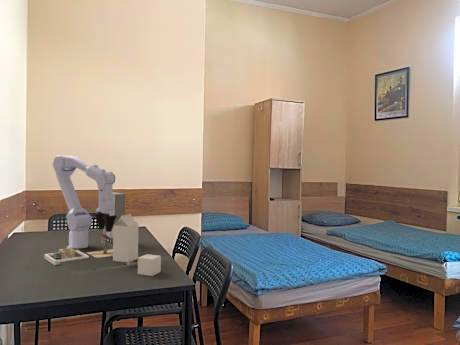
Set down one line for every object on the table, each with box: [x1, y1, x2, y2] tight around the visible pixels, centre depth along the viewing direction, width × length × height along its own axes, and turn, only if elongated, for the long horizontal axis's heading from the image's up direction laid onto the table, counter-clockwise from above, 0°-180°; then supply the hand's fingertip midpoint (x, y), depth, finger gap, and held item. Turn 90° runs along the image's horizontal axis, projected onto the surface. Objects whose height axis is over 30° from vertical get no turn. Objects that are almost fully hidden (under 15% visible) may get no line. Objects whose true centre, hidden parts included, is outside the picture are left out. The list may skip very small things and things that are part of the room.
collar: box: [53, 247, 76, 260], centre depth 156 cm, size 7×5×3 cm
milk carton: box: [112, 213, 139, 265], centre depth 154 cm, size 7×7×19 cm
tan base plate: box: [85, 242, 113, 259], centre depth 164 cm, size 12×12×6 cm
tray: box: [43, 249, 90, 266], centre depth 156 cm, size 13×13×2 cm
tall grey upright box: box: [100, 191, 126, 246], centre depth 186 cm, size 14×6×25 cm, turn 41°
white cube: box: [137, 253, 162, 277], centre depth 140 cm, size 6×6×6 cm
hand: (105, 230), depth 169 cm, fingers open, 7 cm apart
